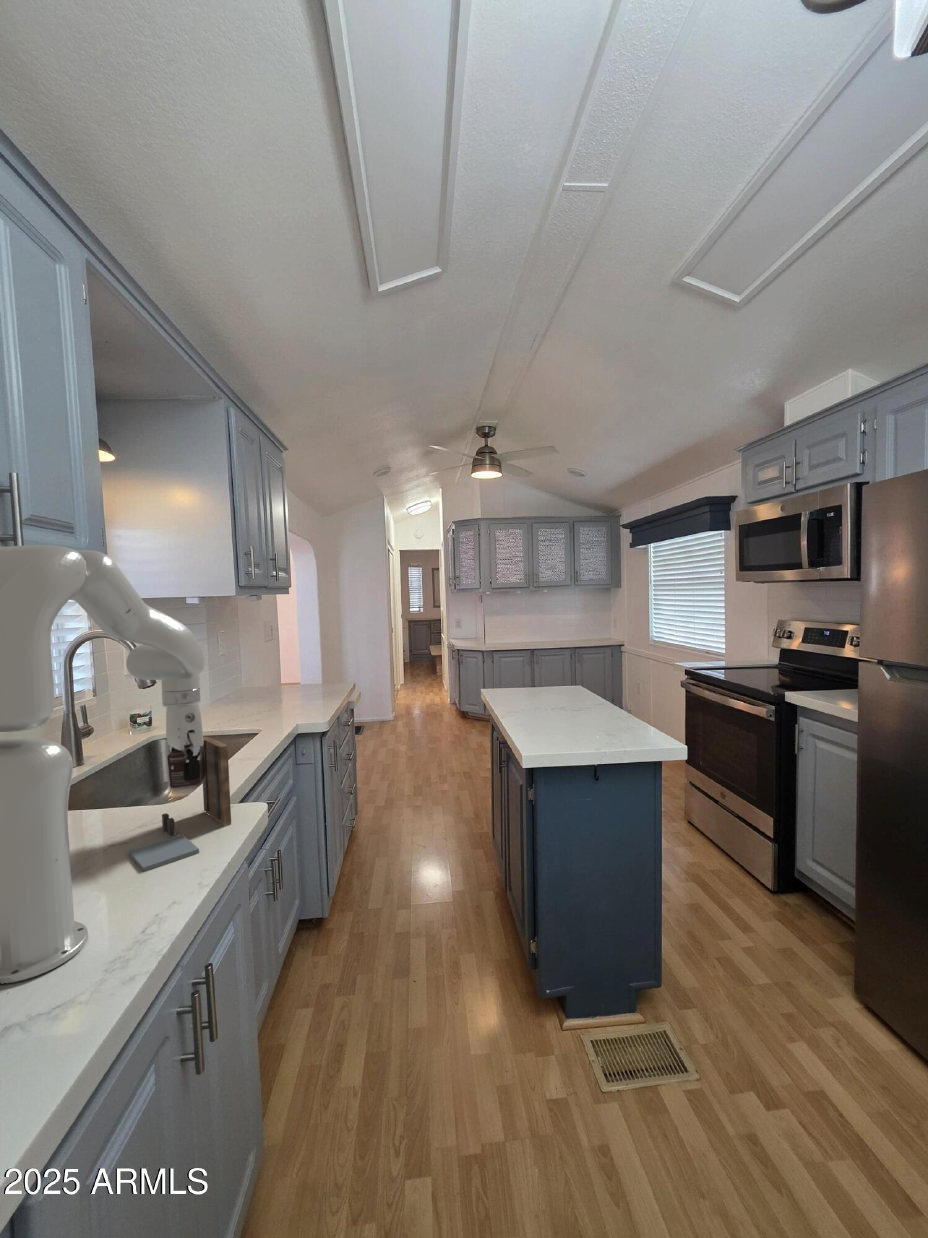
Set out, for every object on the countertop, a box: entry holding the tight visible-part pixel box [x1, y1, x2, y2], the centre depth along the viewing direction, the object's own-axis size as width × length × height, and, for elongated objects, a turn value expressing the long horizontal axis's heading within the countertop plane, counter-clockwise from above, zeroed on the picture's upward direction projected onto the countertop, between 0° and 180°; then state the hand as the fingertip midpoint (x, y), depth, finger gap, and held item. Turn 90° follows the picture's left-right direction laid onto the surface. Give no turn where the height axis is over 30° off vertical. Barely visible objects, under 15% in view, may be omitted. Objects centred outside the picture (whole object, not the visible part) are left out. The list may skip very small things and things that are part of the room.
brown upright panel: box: [161, 736, 232, 838], centre depth 123 cm, size 12×12×18 cm
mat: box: [128, 833, 200, 872], centre depth 110 cm, size 10×10×1 cm
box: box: [167, 746, 206, 789], centre depth 122 cm, size 6×6×7 cm
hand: (184, 774), depth 121 cm, fingers closed on box, 8 cm apart
